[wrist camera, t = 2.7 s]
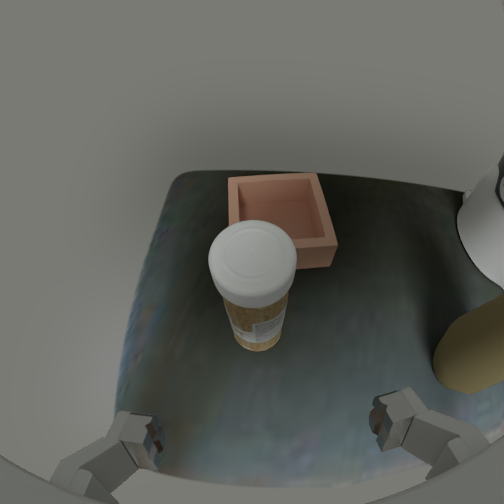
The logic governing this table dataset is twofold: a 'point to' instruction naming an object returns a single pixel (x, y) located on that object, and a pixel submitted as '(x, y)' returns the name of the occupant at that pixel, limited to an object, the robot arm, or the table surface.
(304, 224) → the terracotta socket
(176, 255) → the table surface
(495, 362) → the squeeze bottle
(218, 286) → the sprinkles bottle
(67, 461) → the robot arm
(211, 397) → the table surface
